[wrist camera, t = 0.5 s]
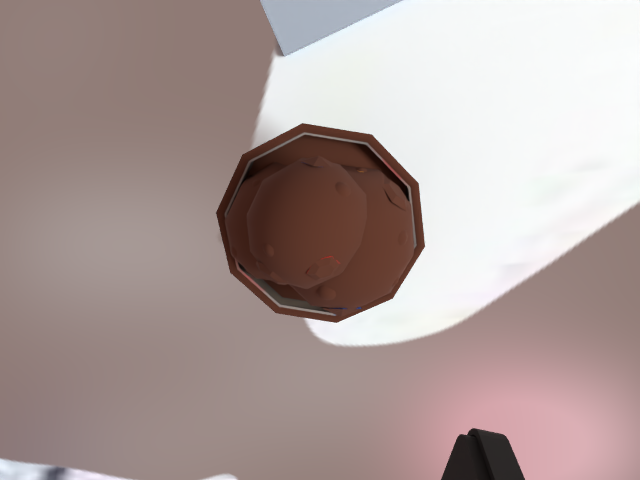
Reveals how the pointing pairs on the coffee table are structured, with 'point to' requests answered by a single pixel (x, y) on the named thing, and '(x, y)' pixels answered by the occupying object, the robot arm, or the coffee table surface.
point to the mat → (315, 18)
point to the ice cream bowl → (321, 223)
